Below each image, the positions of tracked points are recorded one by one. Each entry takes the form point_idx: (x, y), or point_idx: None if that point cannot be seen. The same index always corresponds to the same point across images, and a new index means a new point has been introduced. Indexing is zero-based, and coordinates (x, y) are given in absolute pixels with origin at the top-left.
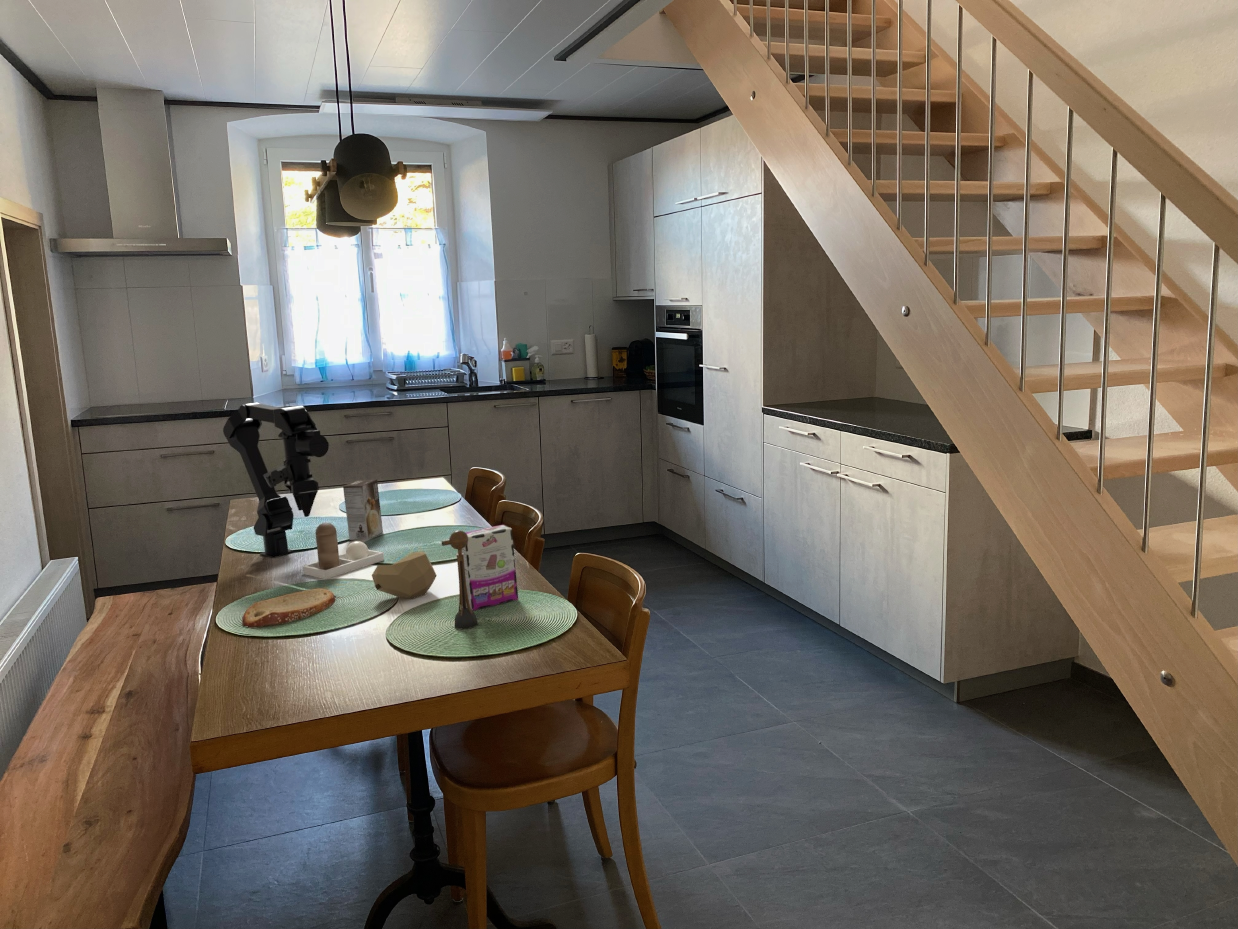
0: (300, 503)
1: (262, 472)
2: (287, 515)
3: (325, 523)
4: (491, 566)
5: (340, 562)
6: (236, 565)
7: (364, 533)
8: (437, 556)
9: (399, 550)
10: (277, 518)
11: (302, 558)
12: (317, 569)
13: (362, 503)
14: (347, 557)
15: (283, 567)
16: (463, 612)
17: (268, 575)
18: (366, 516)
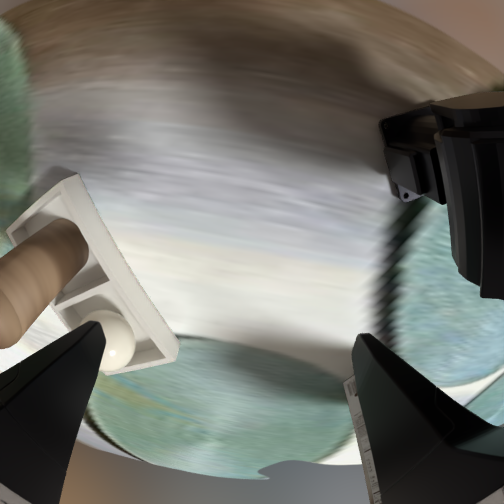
0: (24, 376)
1: None
2: (466, 250)
3: None
4: None
5: (91, 285)
6: (368, 9)
7: (353, 391)
8: (115, 415)
9: (194, 403)
10: (458, 182)
11: (299, 205)
12: (20, 216)
13: (367, 463)
14: (99, 310)
15: (219, 122)
16: None
17: (149, 68)
18: (356, 434)
